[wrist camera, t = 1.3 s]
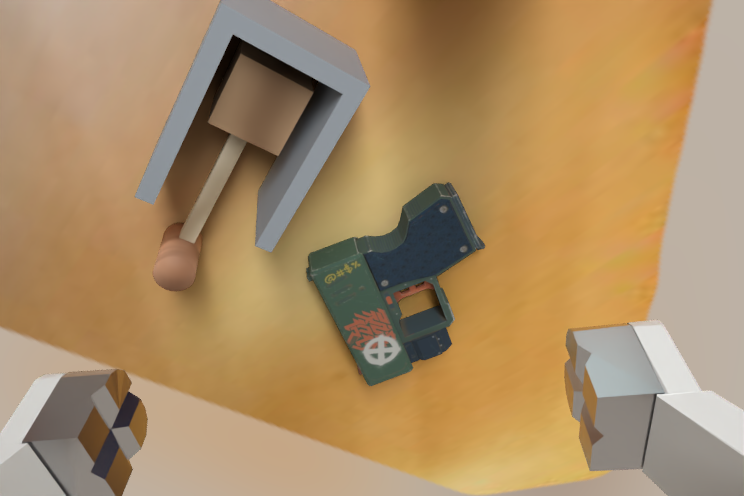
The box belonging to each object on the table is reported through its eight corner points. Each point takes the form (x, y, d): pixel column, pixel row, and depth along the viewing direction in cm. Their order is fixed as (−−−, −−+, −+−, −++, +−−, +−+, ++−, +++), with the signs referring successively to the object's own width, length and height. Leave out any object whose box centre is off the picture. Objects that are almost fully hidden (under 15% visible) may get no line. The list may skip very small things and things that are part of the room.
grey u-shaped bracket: (155, 145, 44) (134, 197, 37) (230, -23, 39) (221, 2, 32) (271, 197, 48) (271, 252, 41) (355, 50, 42) (370, 86, 36)
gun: (501, 311, 58) (358, 365, 59) (459, 169, 49) (291, 235, 50) (513, 332, 56) (363, 388, 56) (470, 187, 47) (293, 256, 47)
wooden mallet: (145, 240, 48) (133, 277, 44) (244, 33, 40) (240, 53, 36) (205, 263, 50) (198, 300, 46) (309, 69, 42) (313, 92, 38)
